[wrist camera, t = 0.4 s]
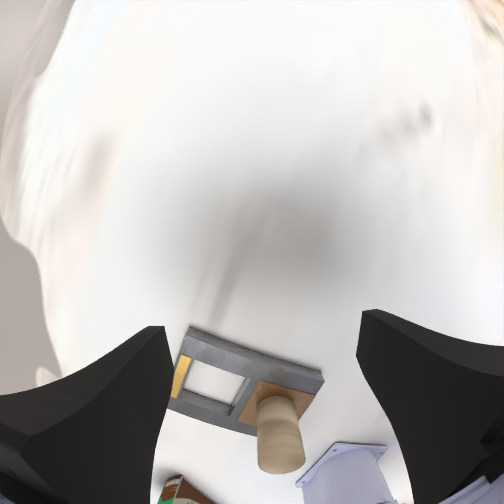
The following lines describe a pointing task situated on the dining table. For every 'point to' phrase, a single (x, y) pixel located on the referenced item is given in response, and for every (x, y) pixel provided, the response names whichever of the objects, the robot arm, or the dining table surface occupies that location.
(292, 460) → the peg
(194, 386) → the dining table surface
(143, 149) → the dining table surface
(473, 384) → the robot arm
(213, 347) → the plate
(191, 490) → the food container
